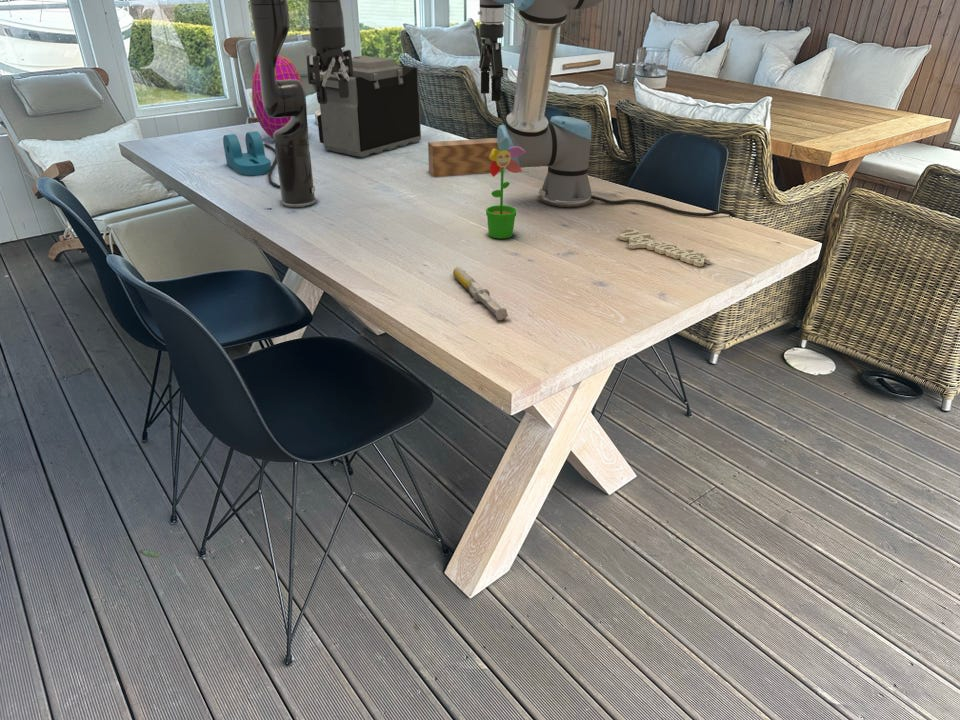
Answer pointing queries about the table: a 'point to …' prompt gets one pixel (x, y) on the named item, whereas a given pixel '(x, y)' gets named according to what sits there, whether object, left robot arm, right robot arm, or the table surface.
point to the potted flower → (500, 214)
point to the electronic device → (371, 108)
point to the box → (460, 156)
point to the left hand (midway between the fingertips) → (333, 100)
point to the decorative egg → (269, 125)
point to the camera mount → (246, 154)
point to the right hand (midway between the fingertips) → (490, 97)
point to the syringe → (479, 293)
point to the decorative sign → (663, 247)
